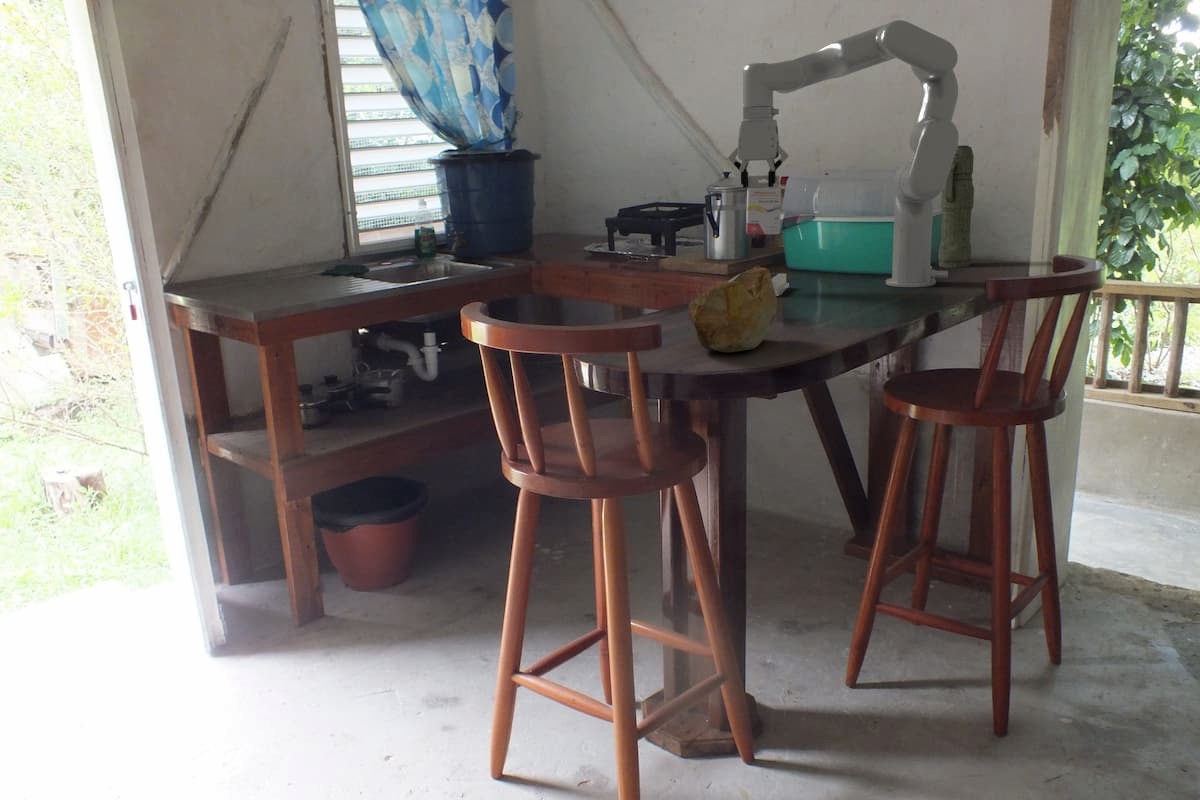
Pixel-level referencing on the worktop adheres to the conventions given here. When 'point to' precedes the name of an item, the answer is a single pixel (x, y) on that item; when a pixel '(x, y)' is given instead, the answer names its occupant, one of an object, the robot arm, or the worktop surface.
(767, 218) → the ink cartridge box
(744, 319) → the rough brown rock
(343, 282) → the worktop surface
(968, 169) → the thermos
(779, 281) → the rail dock
